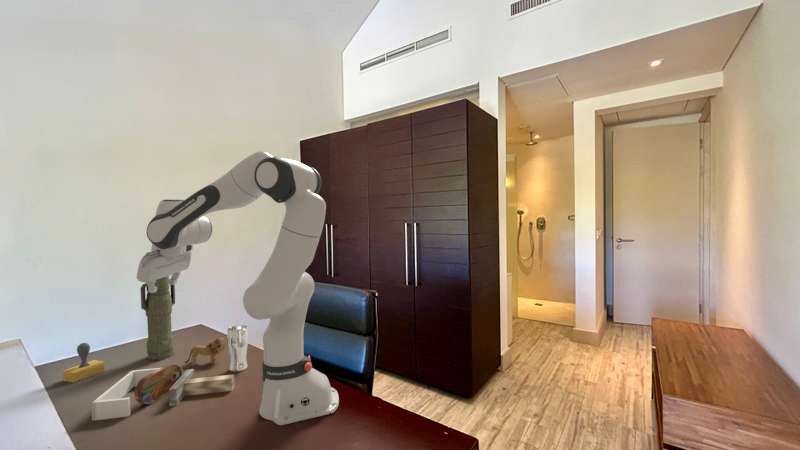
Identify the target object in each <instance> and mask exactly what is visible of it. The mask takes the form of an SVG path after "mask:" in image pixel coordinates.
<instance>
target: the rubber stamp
mask: <svg viewBox="0 0 800 450" xmlns="http://www.w3.org/2000/svg"><path fill="white" fill-rule="evenodd" d="M90 351H91V346H90V344H89V343H87V342H82V343H80V344H78V346H77V348H76V352H77V355H78V357H80V360H81V363H80V364H78V365H76V366H73V367H69V368H67V369H64V370H63V371H62V378H63V380H65V381H69V382H68V383H70V382H75V383H77V382H80V381H83V380H86V379H88V378H90V377H94V376H96V375H98V374H101V373H103V372H106V362H105V361H103V360H97V359H93V360H90V361H87V358H88V356H89V352H90ZM82 379H83V380H82ZM79 380H80V381H79ZM65 381H64V382H65ZM76 381H77V382H76Z"/></svg>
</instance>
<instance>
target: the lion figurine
mask: <svg viewBox="0 0 800 450" xmlns="http://www.w3.org/2000/svg"><path fill="white" fill-rule="evenodd" d="M226 344H227V343H226V339H225V338H224V337H219V338H216V339H215V340H214V341H212V342H210V343H209V344H208V345H194V346H193V347H192V348H190V352H189V356H188V359H187V360H185V362H184V364H187V363H189V361H191V362H192V363H194V365H196V366H198V365H199V362H197V357H198V355H201V356H203V357H210V362H211V364H212V365H215V364H216V361H217V359H216V356H217V355H220V354H221V353H222V352H223V351H224V350H225V349H226V346H227V345H226Z"/></svg>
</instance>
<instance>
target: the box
mask: <svg viewBox="0 0 800 450" xmlns="http://www.w3.org/2000/svg"><path fill="white" fill-rule="evenodd" d="M160 368H161V367H155V368H144V369H135V370H130V371H129V372H127V374H126V375H125V376H123V377H121V378H120V380H118V381H117V382H116V383H115V384H113V385H112V386H110V388H108V389H107V390H106V391H105V392H103V393H102V394H101V395H100V396H98V397H97V398H96V399H95V400H93V401H92V402H91V405H90V407H91V421H102V420H109V419H110V420H111V419H118V418H128V417H130V416H131V415H132V414H131V412H132V411H131V397H130V396H129V397H124V396H125V395H126V394H128V392H130V391H131V390H132V389H134V388H135V387H136V386H137V384H138V382H139V381H140V380H141V379H142V378H143V377H145V376H146V375H148V374H150V373H152V372H154V371H156V370H158V369H160Z"/></svg>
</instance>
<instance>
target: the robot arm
mask: <svg viewBox="0 0 800 450" xmlns="http://www.w3.org/2000/svg"><path fill="white" fill-rule="evenodd" d="M322 182H323V180H322V177H321V175H320V173H319V171H317V170H316V169H315V168H314V167H312V166H311V165H308V164H304V163H303V162H299V161H297V160H295V159H290V158H284V157H281V156H274V155H272V154H270V153H269V152H266V151H262V150H258V151H256V152H253V153H252V154H250V155H249V156H247V157H245V158H243V159H242V160H241V161H239V162H238V163H237V164H236V165H235V166H233V167H232V168H231V169H230V170H229V171H227V172H226V173H224V175H222V176H220V177H219V178H218V179H216V180H214V181H213V182H211V183H210V184H208V185H206V186H204V187H203V188H201V189H199V190H198V191H195V193H193V194H191V195H190V196H189V197H187V198H186V199H162V200H160V202H159V203H158V205H157V208H156V212H155V215H154V217H152V219H151V220H150V221H149V222H148V225H147V228H146V237H147V238H148V241H149V242H151V247H150V251H147V252H146V253H145V254H144V255H143V256H142V258H140V261H139V264H138V268H137V272H136V279H137V281H138V282H141V283H147V285H148V292H149V293H154V292H156V291H157V287H156V286H155V284H154V283H156V280H157V279H160V278H163V277H166V276H169V277H171V278H169V286H170V285H174V284H175V285H176V284H177V283H178V279H179V277H180V275H181V272H183V271H186V270H188V269H189V267H190V266H191V265H190V264H191V260H192V251H193V249H194V245H198V244H203V243H206V242H208V241H209V239H210V238H211V236H212V234H213V225H212V222H211V220H210V219H209V218H208V217H207V216H206V215H207V214H210V213H213V212H218V211H225V210H233V209H240V208H243V207H246V206H248V205H250V204H252V203H253V202H255V201H257V200H258V199H260V197H262V196H263V194H265V195H267V196H268V197H270V198H271V200H273V201H274V202H276V203H277V204H281V203H283V204H284V206H285V213H284V217H283V221H282V223H281V227H280V229H279V232H278V236H277V239H276V242H275V244H274V248H273V251H272V253H271V255H270V256H269V259H268V260H267V262H266V263H265V265H264V267H263V269H262V270H261V272H260V273H259V275H258V276H257V278H256V279H255V280H254V282H253V283H251V284H250V286H249V287H247V288H246V289H245V291H244V293H243V297H242V304H243V308H244V310H245V312H246V313H247V314H248V315H249V317H251V318H253V319H254V320H269V319H270V320H269V322H268V325H267V327H266V328H265V330H264V332H263V336H262V343H263V345H262V347H263V360H262V363H261V377H262V382H263V389H262V397H261V402H260V407H259V410H258V413H259V415H260V417H262V418H264V419H265V420H268V421H271V422H274V423H275V424H276V425H278V426H284V425H288V424H292V423H296V422H300V421H305V420H310V419H313V418H318V417H323V416H326V415H331V414H333V413H335V412H336V411H337V409H338V407H339V404H340V397H339V392H338V391H337V389H335V388H334V387H332V386H331V383H330V381H329V378H328V376H327V375H326V374H324V373H322V372H321V371H319V370H317V369H315V368H314V367H313V363H312V358H311V355H308V356H307V355H305V354H304V329H305V323H306V322H305V321H306V317H307V312H308V309H309V308H308V307H309V304H310V301H311V299H312V297H313V294H314V292H315V287H316V286H315V280H314V279H313V277H312V276H311V275H310V274H309V273H308V272H306V270H307V269H308V268H309V266H310V265H311V264H312V263H313V261H314V258H315V255H316V251H317V249H318V248H317V247H318V246H319V242H320V240H321V235H322V232H323V229H324V224H325V221H326V220H325V219H326V213H327V211H326V210H327V204H326V201H325V199H324V198H323V197H322V196H320V195H319V192H320V190H321V189H322V185H323V184H322ZM330 413H331V414H330Z"/></svg>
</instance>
